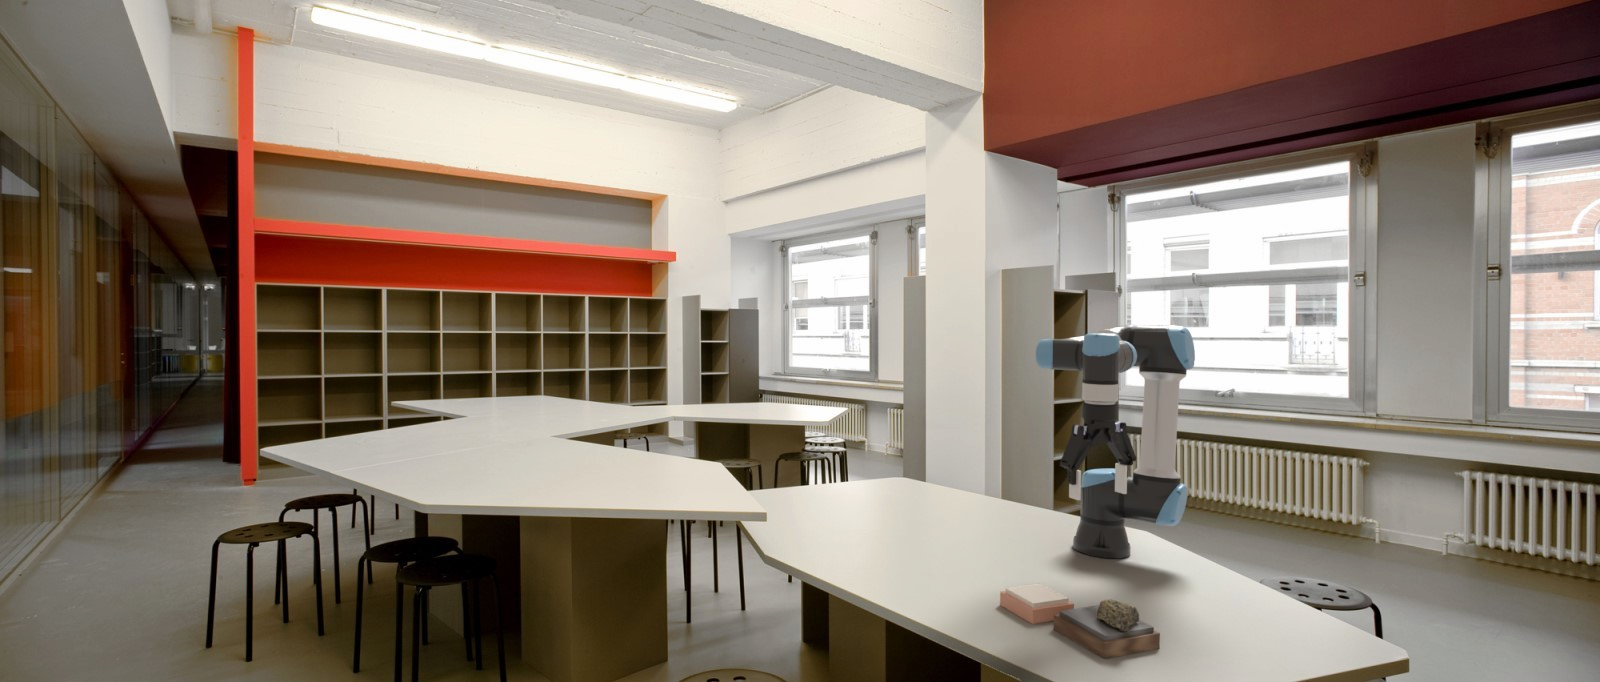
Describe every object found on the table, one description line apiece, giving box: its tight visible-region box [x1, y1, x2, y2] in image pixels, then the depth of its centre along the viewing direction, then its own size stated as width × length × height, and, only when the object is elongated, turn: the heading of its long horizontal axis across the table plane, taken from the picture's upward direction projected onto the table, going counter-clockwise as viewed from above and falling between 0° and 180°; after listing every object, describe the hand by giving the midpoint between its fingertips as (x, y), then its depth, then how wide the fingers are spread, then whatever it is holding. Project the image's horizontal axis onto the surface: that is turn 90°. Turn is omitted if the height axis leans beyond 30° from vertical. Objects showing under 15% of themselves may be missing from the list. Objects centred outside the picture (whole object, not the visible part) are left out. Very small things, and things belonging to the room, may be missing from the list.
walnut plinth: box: [1053, 604, 1161, 660], centre depth 144 cm, size 14×14×4 cm
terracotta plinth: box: [999, 583, 1075, 625], centre depth 158 cm, size 11×11×4 cm
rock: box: [1097, 598, 1140, 633], centre depth 142 cm, size 7×8×4 cm
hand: (1098, 495), depth 161 cm, fingers open, 13 cm apart
